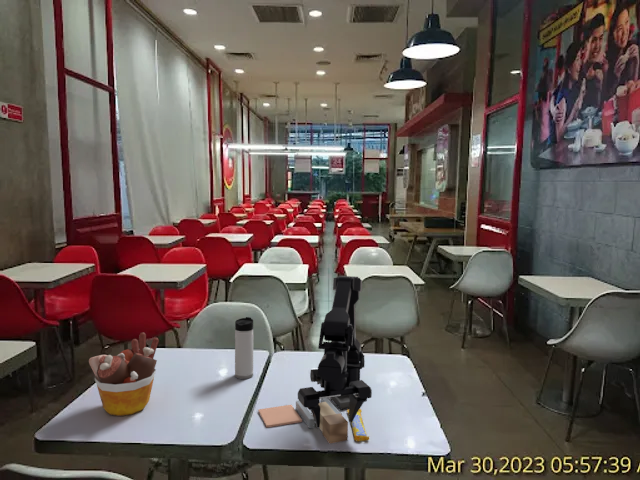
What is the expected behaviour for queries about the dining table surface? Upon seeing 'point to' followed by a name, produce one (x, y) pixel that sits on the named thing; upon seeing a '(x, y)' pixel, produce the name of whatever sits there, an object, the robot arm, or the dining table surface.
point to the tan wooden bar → (324, 412)
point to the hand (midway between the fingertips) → (334, 424)
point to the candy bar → (358, 427)
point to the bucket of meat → (126, 377)
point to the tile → (279, 415)
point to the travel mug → (244, 348)
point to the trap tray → (341, 401)
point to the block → (335, 428)
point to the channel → (307, 415)
